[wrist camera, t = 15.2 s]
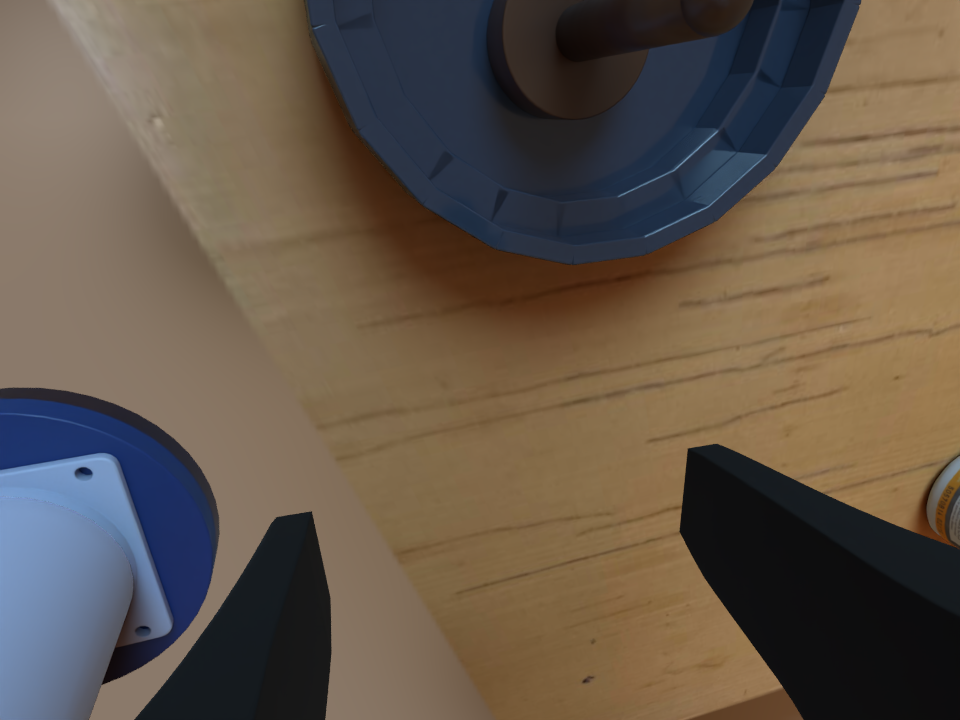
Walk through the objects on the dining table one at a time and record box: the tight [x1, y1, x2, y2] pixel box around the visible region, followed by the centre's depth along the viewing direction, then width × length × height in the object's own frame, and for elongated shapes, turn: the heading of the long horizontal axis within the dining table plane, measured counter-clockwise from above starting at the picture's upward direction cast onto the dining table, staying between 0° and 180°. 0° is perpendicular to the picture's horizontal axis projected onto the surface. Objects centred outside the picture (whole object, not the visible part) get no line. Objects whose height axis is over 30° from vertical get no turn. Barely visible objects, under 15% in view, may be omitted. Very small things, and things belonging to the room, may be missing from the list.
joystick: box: [487, 0, 754, 120], centre depth 14 cm, size 4×4×8 cm
